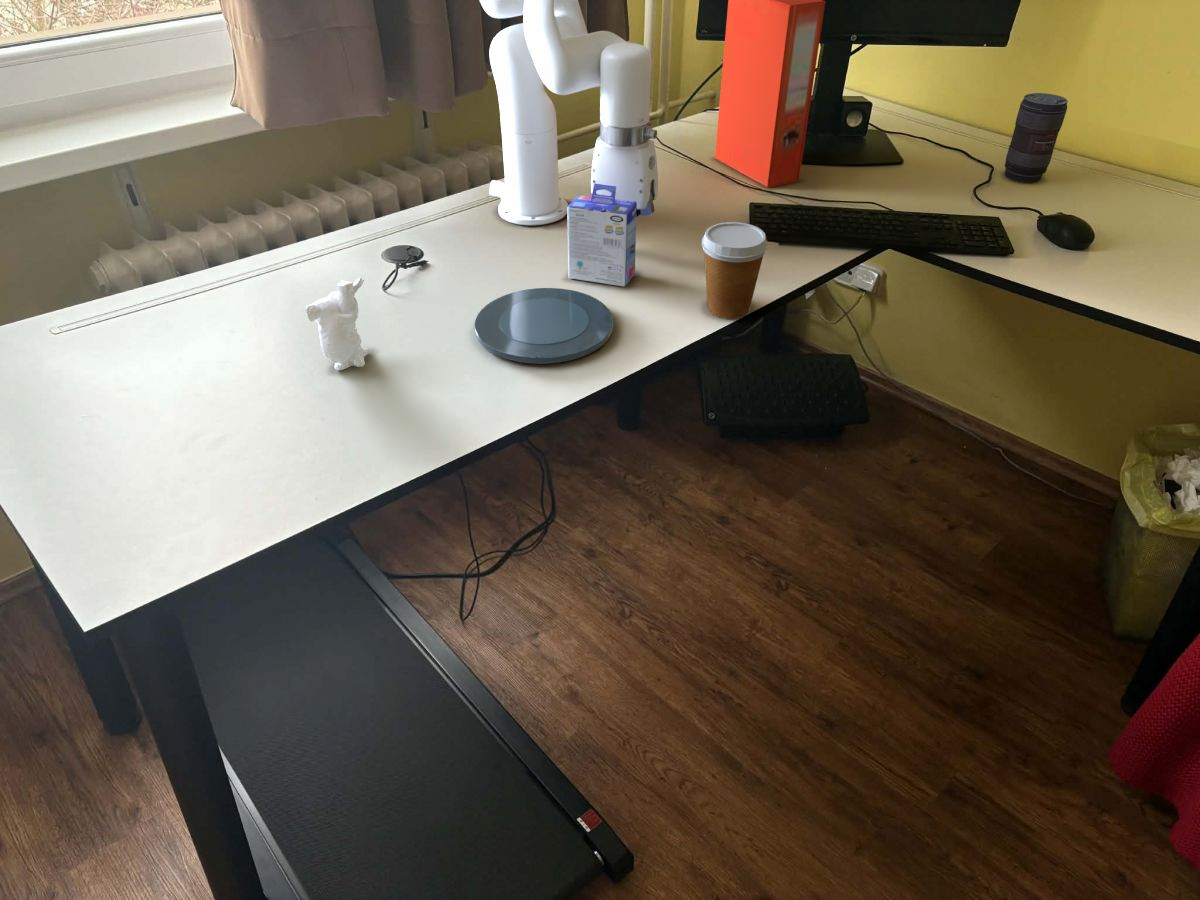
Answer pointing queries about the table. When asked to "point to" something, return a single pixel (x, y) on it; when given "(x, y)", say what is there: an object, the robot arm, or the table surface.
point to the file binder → (767, 86)
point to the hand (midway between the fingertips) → (622, 242)
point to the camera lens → (1034, 136)
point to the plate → (543, 325)
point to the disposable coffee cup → (732, 267)
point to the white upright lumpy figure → (339, 326)
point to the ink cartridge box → (601, 238)
